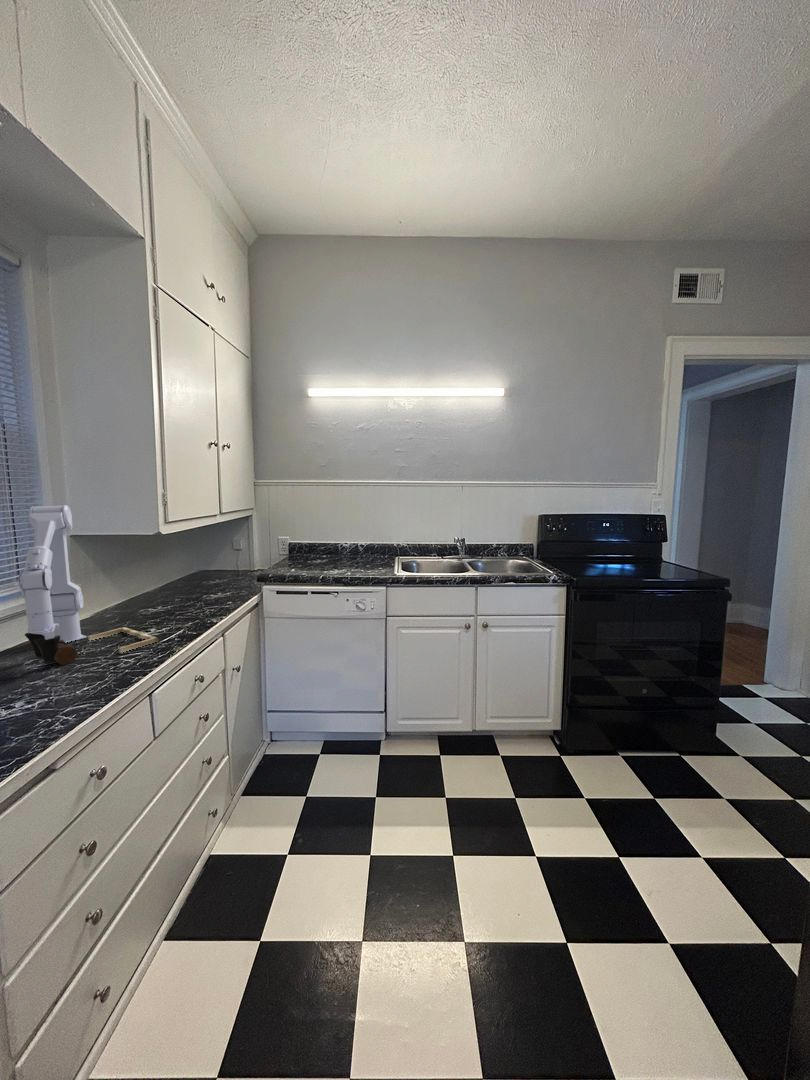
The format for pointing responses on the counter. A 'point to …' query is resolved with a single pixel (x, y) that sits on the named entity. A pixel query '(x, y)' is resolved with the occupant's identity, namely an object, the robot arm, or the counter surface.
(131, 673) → the counter surface
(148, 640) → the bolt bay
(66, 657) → the bolt
